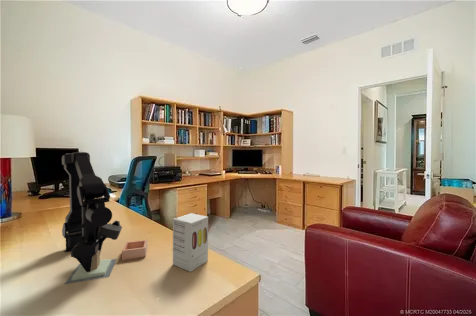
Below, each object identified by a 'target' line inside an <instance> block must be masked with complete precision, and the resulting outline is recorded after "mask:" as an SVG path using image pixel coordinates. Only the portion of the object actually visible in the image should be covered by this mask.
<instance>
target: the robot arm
mask: <svg viewBox="0 0 476 316" xmlns="http://www.w3.org/2000/svg"><path fill="white" fill-rule="evenodd" d="M61 165H62V166H63V169H64V170H65V171H66V173H67V175H68V178H69V179H68V180H69V181H68V182H69V187H68V188H69V211H68V213H67V215H65V217H64V219H65V222H63V225H62V229H61V232H62V237H63V238H64V239H65V250H63V253H70V257H71V258H73V259H76V261H78V263H79V264H81V265H82V267H83V268H84V269H85V271H86V272H90V271H91V267H92V261H93V256H94V255H95V254H96V253H97V252H98V250H100V253H101V252H102V249H103V248H102V247H103V244H104V241H105V240H106V239H111V240H112V241H113V240H114V241H115V240H117V239H118V238H119V236H120V233H121V231H122V229H123V227H122V225H121V224H120V223H121V222H120V221H119V220H114V221H112V223H110V222H111V220H112V218H113V213H112V211H111V209H110V208H109V207H107V206H106V203H109V202H110V198H111V195H110V192H109V189H108V187H107V185H106V184H105V183H104V181H103V179H102V178H101V177H100V176H98V175H96V174H95V173H96V172H95V170H94V168H93V165H92V163H91V154H90V153H89V152H85V151H76V152H72V153H65V154H64V155H62V156H61Z"/></svg>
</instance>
